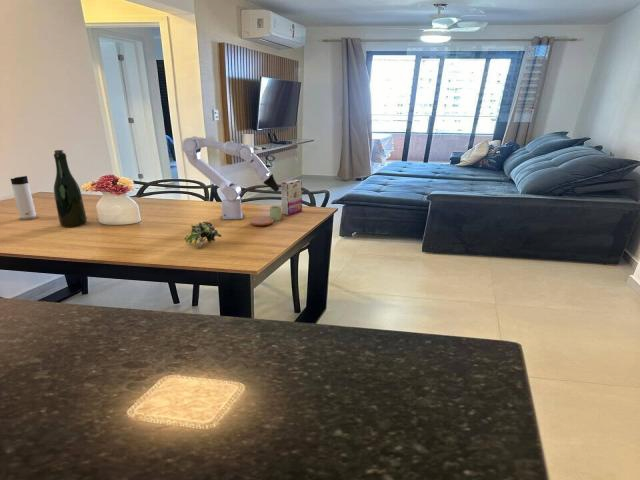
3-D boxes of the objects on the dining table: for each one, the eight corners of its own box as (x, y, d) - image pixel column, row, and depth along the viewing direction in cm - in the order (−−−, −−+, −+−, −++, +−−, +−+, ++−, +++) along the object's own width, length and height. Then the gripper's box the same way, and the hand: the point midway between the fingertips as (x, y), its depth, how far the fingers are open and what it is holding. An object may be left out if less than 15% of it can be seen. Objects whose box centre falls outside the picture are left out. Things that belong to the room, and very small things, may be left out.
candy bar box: (295, 209, 204) (295, 179, 199) (302, 211, 201) (302, 180, 196) (281, 213, 196) (280, 182, 190) (288, 215, 193) (287, 183, 187)
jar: (270, 221, 183) (270, 208, 181) (270, 218, 188) (269, 206, 186) (281, 220, 184) (281, 208, 182) (280, 217, 189) (280, 206, 187)
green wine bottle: (57, 224, 172) (41, 149, 162) (83, 219, 180) (69, 148, 169) (63, 229, 165) (47, 152, 155) (90, 224, 173) (76, 150, 162)
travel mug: (31, 220, 178) (20, 177, 171) (17, 219, 178) (6, 177, 171) (40, 216, 184) (30, 175, 177) (27, 216, 184) (16, 174, 177)
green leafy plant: (210, 254, 155) (226, 231, 153) (200, 259, 144) (217, 234, 142) (187, 238, 154) (203, 214, 152) (175, 242, 144) (193, 216, 142)
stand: (249, 227, 172) (249, 223, 172) (249, 220, 182) (249, 217, 182) (273, 226, 174) (273, 223, 173) (272, 220, 184) (272, 216, 184)
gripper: (265, 162, 173) (284, 185, 176) (265, 161, 187) (283, 183, 190) (253, 172, 173) (272, 195, 177) (254, 170, 187) (272, 192, 191)
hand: (277, 189), depth 184 cm, fingers open, 7 cm apart
